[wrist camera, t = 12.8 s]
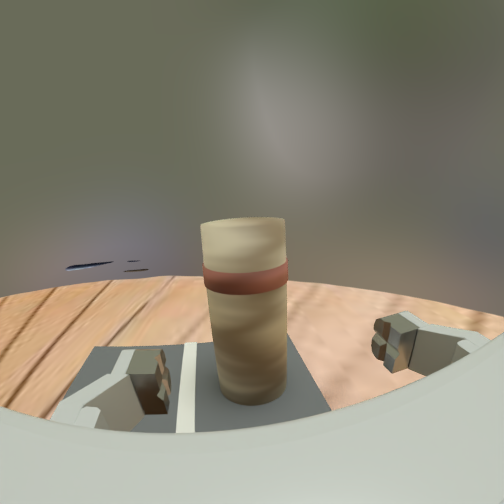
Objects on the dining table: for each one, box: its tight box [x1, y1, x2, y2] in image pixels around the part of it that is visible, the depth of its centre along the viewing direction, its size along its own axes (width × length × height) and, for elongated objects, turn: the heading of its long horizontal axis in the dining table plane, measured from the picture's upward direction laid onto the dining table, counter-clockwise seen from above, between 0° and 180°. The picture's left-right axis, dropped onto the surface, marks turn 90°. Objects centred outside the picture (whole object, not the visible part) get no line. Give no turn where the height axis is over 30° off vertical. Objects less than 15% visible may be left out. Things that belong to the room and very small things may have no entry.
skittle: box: [201, 217, 288, 406], centre depth 18 cm, size 5×5×12 cm
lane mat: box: [63, 334, 331, 433], centre depth 18 cm, size 20×14×1 cm
